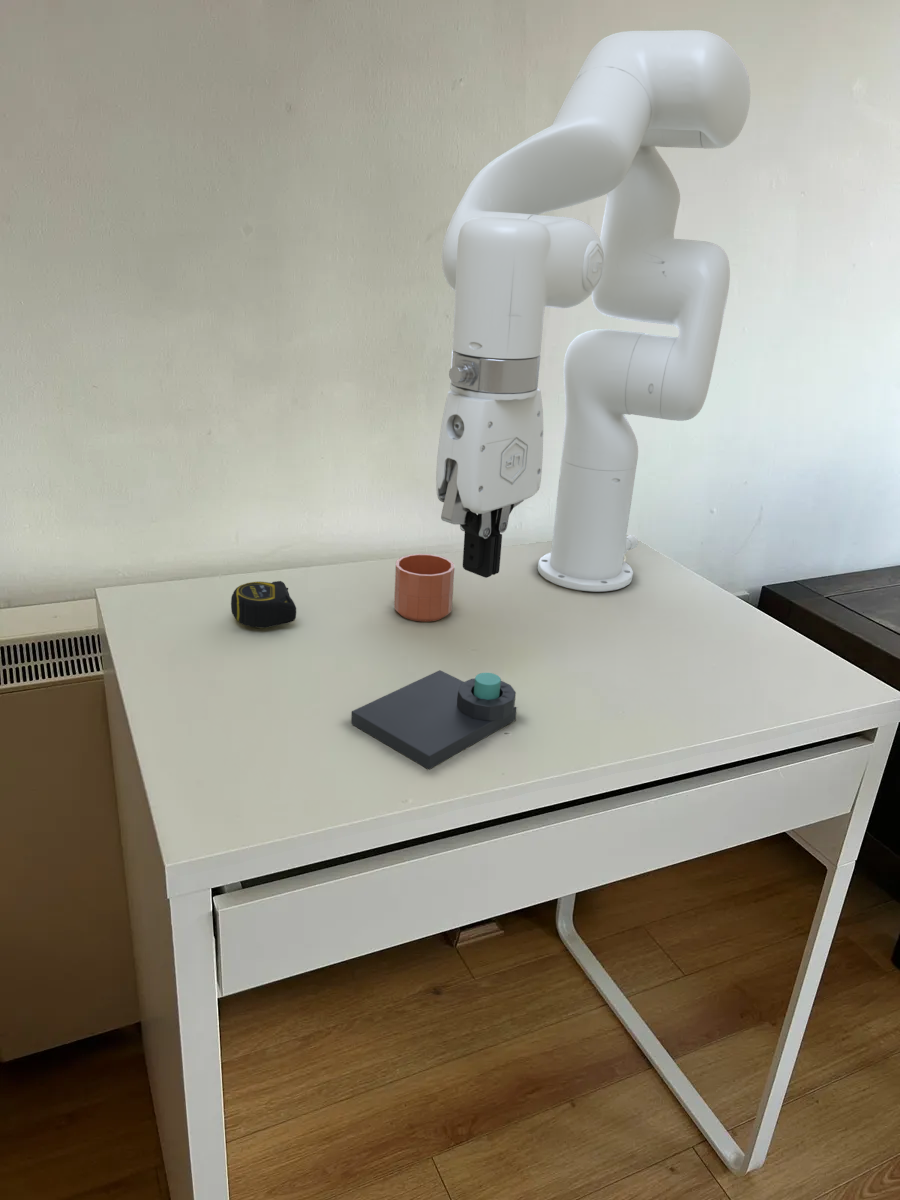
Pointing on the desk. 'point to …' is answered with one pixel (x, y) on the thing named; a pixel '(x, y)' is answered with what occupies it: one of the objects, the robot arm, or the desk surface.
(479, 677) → the button
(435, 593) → the terracotta cylindrical cup
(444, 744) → the scale
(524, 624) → the desk surface
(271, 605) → the tape measure
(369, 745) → the desk surface
